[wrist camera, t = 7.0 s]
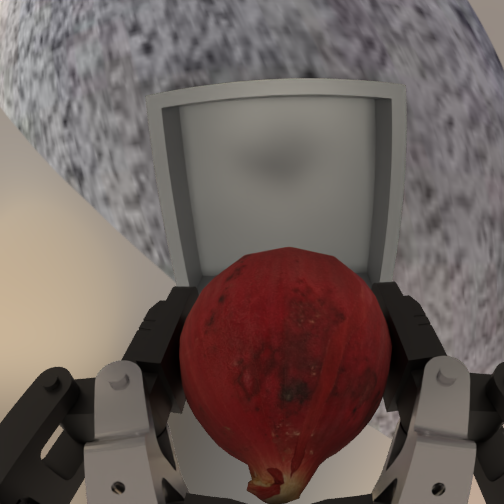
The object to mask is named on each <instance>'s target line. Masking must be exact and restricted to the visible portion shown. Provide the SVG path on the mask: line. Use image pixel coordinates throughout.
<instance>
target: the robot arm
mask: <svg viewBox="0 0 504 504" xmlns="http://www.w3.org/2000/svg"><path fill="white" fill-rule="evenodd" d="M371 291H372V292H373V293H374V295H375V296H376V299H377V301H378V303H379V306H380V308H381V310H382V313H383V315H384V317H385V320H386V322H387V325H388V328H389V333H390V338H391V343H392V352H391V361H390V368H389V373H388V379H387V384H386V388H385V392H384V394H383V399H384V403H385V407H386V411H387V412H392V411H398V412H399V416H400V419H399V421H398V423H397V425H396V429H395V432H394V436H393V439H392V443H391V446H390V449H389V452H388V455H387V459H386V462H385V464H384V467H383V470H382V473H381V475H380V477H379V480H378V481H377V483H376V485H375V487H374V489H373V491H372V493H371V494H367V495H360V496H353V497H344V498H335V499H327V500H323V501H320V502H316V503H312V504H468V499H469V494H470V489H471V484H472V478H473V474H474V476H475V479H476V480H477V483H478V485H479V487H480V490H481V492H482V495H483V497H484V499H485V502H486V504H504V434H503V432H502V431H501V429H500V428H501V426H502V425H503V424H504V362H503V363H500V364H499V365H498V366H497V367H496V369H495V370H494V372H493V374H492V375H490V374H476V373H469V371H468V369H467V367H466V366H465V365H464V364H463V363H462V362H461V361H459V360H458V359H456V358H453V357H450V356H447V354H446V352H445V350H444V348H443V346H442V344H441V342H440V340H439V338H438V337H437V335H436V333H435V331H434V329H433V327H432V325H430V321H429V320H428V318H427V317H426V314H425V312H424V311H423V309H422V307H421V305H420V304H419V303H418V302H417V301H416V300H414V299H413V298H412V297H411V296H409V295H408V296H403V295H402V293H401V291H400V289H399V287H398V285H397V284H396V282H378V283H373V285H372V288H371ZM198 297H199V294H198V290H197V288H196V287H194V286H175V287H173V288H172V290H171V292H170V294H169V296H168V298H167V300H166V301H159V302H158V303H156V304H155V305H154V306H153V307H152V308H150V309H149V311H148V313H147V314H146V317H145V318H144V322H142V323H141V325H140V327H139V330H138V331H137V332H136V334H135V336H134V338H133V340H132V342H131V344H130V345H129V347H128V349H127V351H126V353H125V354H124V356H123V358H122V360H121V361H116V362H113V363H110V364H108V365H106V366H105V367H104V368H102V369H101V370H100V372H99V373H98V375H97V376H96V378H86V379H75V380H74V379H73V377H72V376H71V374H70V372H69V371H68V370H67V369H65V368H63V367H53V368H50V369H47V370H46V371H44V372H43V373H41V374H40V375H39V376H38V377H37V379H36V380H35V381H34V382H33V383H32V385H31V386H30V387H29V388H28V389H27V390H26V392H25V393H24V394H23V396H22V397H21V398H20V399H19V400H18V402H17V403H16V404H15V405H14V407H13V408H12V409H11V410H10V411H9V413H8V414H7V415H6V417H5V418H4V419H3V421H2V422H1V423H0V504H70V502H71V500H72V498H73V497H74V495H75V493H76V492H77V490H78V488H79V487H80V485H81V483H82V482H83V480H84V478H85V483H86V495H87V504H246V503H243V502H239V501H236V500H233V499H228V498H219V497H210V496H202V495H196V494H190V493H189V490H188V488H187V486H186V484H185V482H184V480H183V477H182V475H181V472H180V468H179V464H178V461H177V457H176V453H175V449H174V445H173V441H172V436H171V432H170V428H169V425H168V423H167V420H168V417H169V414H170V412H173V413H182V411H183V408H184V404H185V401H186V397H185V394H184V390H183V387H182V380H181V370H180V359H179V351H180V336H181V333H182V330H183V326H184V323H185V320H186V318H187V316H188V314H189V313H190V311H191V309H192V307H193V305H194V304H195V302H196V300H197V298H198ZM59 425H60V426H61V427H62V428H63V429H64V430H63V432H62V433H61V435H60V436H59V437H58V439H57V441H56V442H55V443H54V445H53V446H52V448H51V449H50V451H49V452H48V454H47V455H46V457H45V458H44V459H42V460H41V457H40V455H41V451H42V449H43V447H44V446H45V444H46V443H47V441H48V439H49V438H50V437H51V436H52V434H53V433H54V431H55V430H56V429H57V427H58V426H59Z"/></svg>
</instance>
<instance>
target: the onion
mask: <svg viewBox="0 0 504 504" xmlns="http://www.w3.org/2000/svg"><path fill="white" fill-rule="evenodd" d="M391 352H392V343H391V338H390V333H389V328H388V325H387V322H386V320H385V317H384V315H383V313H382V310H381V308H380V306H379V303H378V301H377V299H376V296H375V295H374V293H373V292H372V291H371V289H370V288H369V287H368V285H367V284H366V282H365V281H364V280H363V279H362V278H361V277H359V276H358V275H357V274H356V273H354V272H353V271H352V270H351V269H350V268H348V267H347V266H346V265H345V264H343V263H342V262H341V261H340V260H338V259H337V258H336V257H335V256H331V255H327V254H322V253H317V252H313V251H308V250H304V249H299V248H294V247H284V248H278V249H273V250H268V251H263V252H257V253H252V254H247V255H244V256H243V257H241V258H240V259H239V260H237V261H236V262H234V263H233V264H232V265H230V266H229V267H228V268H226V269H225V270H224V271H222V272H221V273H220V274H218V275H217V276H216V277H214V278H213V279H212V280H211V281H210V282H209V283H208V284H207V286H206V287H205V288H204V289H203V290H202V291H201V293H200V295H199V297H198V298H197V300H196V302H195V304H194V305H193V307H192V309H191V311H190V313H189V314H188V316H187V318H186V320H185V323H184V326H183V330H182V333H181V336H180V351H179V359H180V370H181V380H182V387H183V390H184V394H185V397H186V400H187V402H188V404H189V406H190V408H191V410H192V412H193V414H194V416H195V417H196V419H197V420H198V421H199V423H200V424H201V425H202V427H203V428H204V429H205V431H206V432H207V433H208V435H209V436H210V437H211V438H212V439H213V440H214V441H215V442H216V444H217V445H218V446H219V447H221V448H222V449H223V450H225V451H226V452H227V453H228V454H230V455H231V456H233V457H235V458H237V459H238V460H240V461H242V462H244V463H245V464H247V465H248V467H249V470H250V474H251V477H252V480H251V481H249V482H248V487H247V491H248V492H250V493H252V494H254V495H255V496H257V497H258V498H259V499H260V500H262V501H263V502H265V503H268V504H284V503H288V502H290V501H293V500H296V499H299V498H300V494H301V493H302V492H303V490H304V489H305V487H306V486H307V484H308V482H309V481H310V479H311V478H312V476H313V475H314V473H315V472H316V470H317V468H318V467H319V465H320V464H321V463H322V462H324V461H325V460H326V459H327V458H329V457H330V456H332V455H334V454H336V453H337V452H338V451H340V450H341V449H342V448H344V447H345V446H346V445H347V444H348V443H350V441H352V440H353V439H354V438H355V437H356V436H357V435H358V434H359V433H360V432H361V431H362V430H363V429H364V427H365V426H366V425H367V424H368V423H369V421H370V420H371V418H372V417H373V415H374V414H375V412H376V410H377V409H378V407H379V405H380V402H381V400H382V397H383V394H384V392H385V388H386V384H387V379H388V373H389V368H390V361H391Z"/></svg>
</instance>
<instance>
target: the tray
mask: <svg viewBox="0 0 504 504" xmlns="http://www.w3.org/2000/svg"><path fill="white" fill-rule="evenodd" d="M145 98H146V108H147V117H148V125H149V134H150V141H151V149H152V156H153V163H154V170H155V176H156V183H157V189H158V195H159V201H160V206H161V212H162V217H163V223H164V228H165V233H166V238H167V243H168V248H169V253H170V258H171V262H172V267H173V272H174V276H175V281H176V285H177V286H194V287H196V288H197V290H198V294H199V295H200V293H201V291H202V290H203V289H204V288H205V287H206V286H207V284H208V283H209V282H210V281H211V280H212V279H213V278H214V277H216V276H217V275H218V274H220V273H221V272H222V271H224V270H225V269H226V268H228V267H229V266H230V265H232V264H233V263H234V262H236V261H237V260H239V259H240V258H241V257H243V256H244V255H247V254H252V253H257V252H263V251H268V250H273V249H278V248H284V247H294V248H299V249H304V250H308V251H313V252H317V253H322V254H327V255H331V256H335V257H336V258H337V259H338V260H340V261H341V262H342V263H343V264H345V265H346V266H347V267H348V268H350V269H351V270H352V271H353V272H354V273H356V274H357V275H358V276H359V277H361V278H362V279H363V280H364V281H365V282H366V284H367V285H368V287H369V288H370V289H371V288H372V285H373V283H378V282H392V278H393V272H394V266H395V260H396V254H397V247H398V240H399V232H400V224H401V215H402V206H403V195H404V182H405V165H406V134H407V113H406V85H403V84H395V83H387V82H377V81H365V80H350V79H325V78H291V79H266V80H251V81H239V82H229V83H220V84H211V85H204V86H197V87H190V88H184V89H178V90H172V91H167V92H162V93H157V94H152V95H147V96H145Z"/></svg>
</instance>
